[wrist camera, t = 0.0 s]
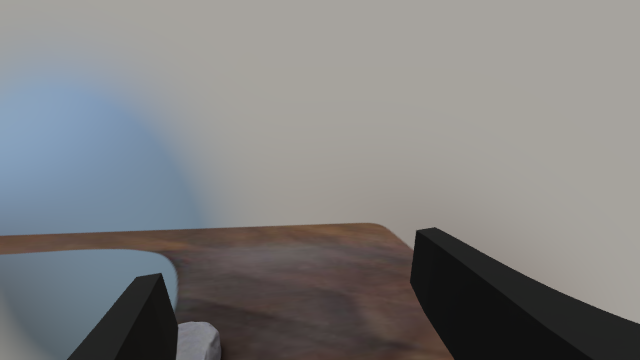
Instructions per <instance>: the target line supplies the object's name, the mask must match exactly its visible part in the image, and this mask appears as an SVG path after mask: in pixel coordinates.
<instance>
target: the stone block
mask: <svg viewBox="0 0 640 360" xmlns="http://www.w3.org/2000/svg"><path fill="white" fill-rule="evenodd" d="M178 328H179V329H178V343H177V355H176V360H221V347H220V338H219V332H218V331H217V330H216V329H215V328H214V327H213V326H211V324H209V323H206V322H188V323H182V324H179V325H178Z"/></svg>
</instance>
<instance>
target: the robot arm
mask: <svg viewBox="0 0 640 360" xmlns="http://www.w3.org/2000/svg"><path fill="white" fill-rule="evenodd" d="M410 283H411V285H412V288H413V290H414V292H415V294H416V296H417V298H418V301H419V303H420V305H421V307H422V309H423V311H424V313H425V314H426V316H427V317H428V319H429V321H430V322H431V324H432V325H433V327H434V329H435V330H436V332H437V333H438V335H439V336H440V338H441V339H442V341H443V343H444V344H445V346H446V347H447V349H448V350H449V352H450V353H451V355H452V356H453V358H454V360H640V324H638V323H635V322H632V321H630V320H627V319H624V318H621V317H619V316H616V315H614V314H611V313H609V312H606V311H603V310H601V309H598V308H596V307H594V306H591V305H589V304H587V303H584V302H582V301H580V300H577V299H574V298H572V297H570V296H568V295H565V294H563V293H561V292H559V291H557V290H554V289H552V288H550V287H548V286H546V285H544V284H542V283H540V282H538V281H535V280H534V279H531V278H529V277H527V276H525V275H523V274H521V273H520V272H517V271H516V270H514V269H512V268H510V267H508V266H506V265H504V264H502V263H500V262H499V261H497V260H495V259H493V258H491V257H489V256H487V255H486V254H484V253H482V252H480V251H478V250H477V249H475V248H473V247H471V246H469V245H467V244H466V243H464V242H462V241H460V240H458V239H456V238H455V237H453V236H451V235H449V234H447V233H445V232H443V231H441V230H440V229H437V228H435V227H434V228H428V229H422V230H417V231H416V238H415V246H414V254H413V262H412V270H411V278H410ZM178 329H179V328H178V324H177V321H176V318H175V315H174V312H173V308H172V305H171V302H170V299H169V296H168V292H167V289H166V286H165V283H164V279H163V276H162V274H161V273H158V274H152V275H146V276H140V277H136V278H135V279H134V281H133V282H132V283H131V284H130V285H129V286H128V288H127V289H126V290H125V291H124V292H123V294H122V295H121V296H120V297H119V298H118V300H117V301H116V302H115V303H114V305H113V306H112V307H111V308H110V310H109V311H108V312H107V313H106V314H105V316H104V317H103V318H102V319H101V320H100V322H99V323H98V324H97V325H96V326H95V328H94V329H93V330H92V331H91V332H90V333H89V335H88V336H87V337H86V338H85V339H84V340H83V342H82V343H81V344H80V345H79V346H78V347H77V349H76V350H75V351H74V352H73V353H72V354H71V356H70V357H69V358H68V359H67V360H176V355H177V343H178Z"/></svg>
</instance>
